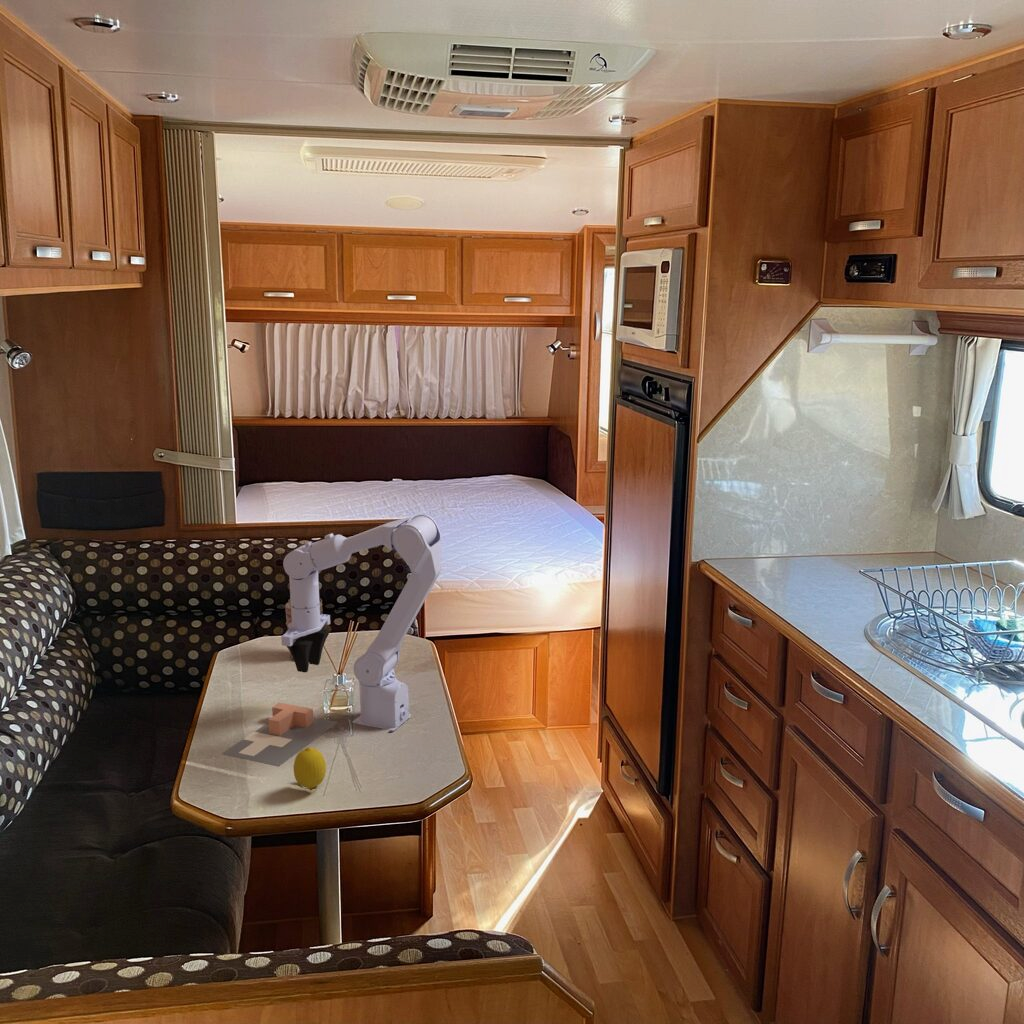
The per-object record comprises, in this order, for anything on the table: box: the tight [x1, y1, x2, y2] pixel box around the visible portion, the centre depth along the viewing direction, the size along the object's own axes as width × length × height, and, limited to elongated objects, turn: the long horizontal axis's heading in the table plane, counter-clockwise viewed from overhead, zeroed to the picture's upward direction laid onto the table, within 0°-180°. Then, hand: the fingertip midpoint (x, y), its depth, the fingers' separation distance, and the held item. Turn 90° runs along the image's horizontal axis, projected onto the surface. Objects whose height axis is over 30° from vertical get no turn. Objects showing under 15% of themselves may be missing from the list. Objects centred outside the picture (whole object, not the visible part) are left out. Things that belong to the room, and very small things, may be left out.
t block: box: [268, 702, 314, 736], centre depth 194 cm, size 8×8×3 cm
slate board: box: [221, 717, 339, 767], centre depth 189 cm, size 13×20×1 cm, turn 158°
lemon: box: [293, 746, 327, 791], centre depth 170 cm, size 6×6×8 cm
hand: (308, 667), depth 200 cm, fingers open, 4 cm apart
